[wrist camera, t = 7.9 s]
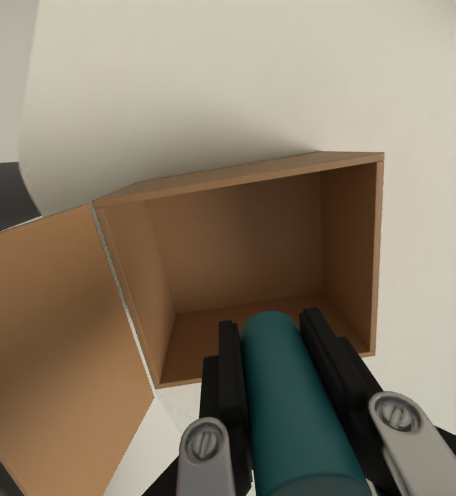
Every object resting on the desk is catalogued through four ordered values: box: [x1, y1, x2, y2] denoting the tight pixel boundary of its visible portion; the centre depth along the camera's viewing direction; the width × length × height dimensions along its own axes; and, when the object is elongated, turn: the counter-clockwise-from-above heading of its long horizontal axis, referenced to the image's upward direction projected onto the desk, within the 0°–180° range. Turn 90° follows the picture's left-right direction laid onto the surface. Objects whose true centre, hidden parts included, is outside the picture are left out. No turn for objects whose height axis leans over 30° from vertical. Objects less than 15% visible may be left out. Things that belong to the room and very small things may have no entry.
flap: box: [0, 204, 154, 496], centre depth 12 cm, size 7×13×1 cm
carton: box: [92, 151, 384, 389], centre depth 20 cm, size 15×13×8 cm
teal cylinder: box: [239, 311, 372, 496], centre depth 9 cm, size 3×3×6 cm
